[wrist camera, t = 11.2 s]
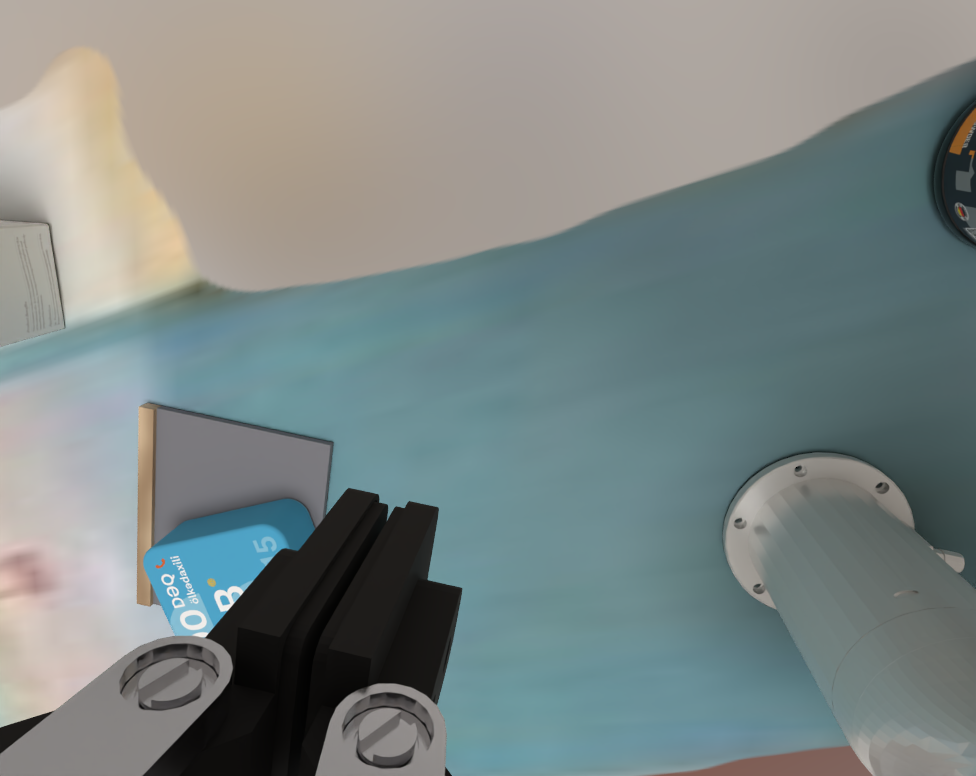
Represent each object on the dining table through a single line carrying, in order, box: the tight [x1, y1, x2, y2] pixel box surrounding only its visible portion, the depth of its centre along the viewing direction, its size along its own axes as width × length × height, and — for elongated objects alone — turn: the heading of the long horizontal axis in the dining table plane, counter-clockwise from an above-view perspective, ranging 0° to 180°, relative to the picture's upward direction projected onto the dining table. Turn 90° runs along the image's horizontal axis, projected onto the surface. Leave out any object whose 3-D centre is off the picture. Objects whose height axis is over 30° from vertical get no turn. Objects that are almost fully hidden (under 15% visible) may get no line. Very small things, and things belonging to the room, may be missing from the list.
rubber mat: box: [153, 406, 333, 606], centre depth 50 cm, size 14×18×1 cm
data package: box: [143, 499, 315, 638], centre depth 48 cm, size 12×4×12 cm
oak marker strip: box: [137, 403, 160, 606], centre depth 50 cm, size 1×18×1 cm, turn 170°
